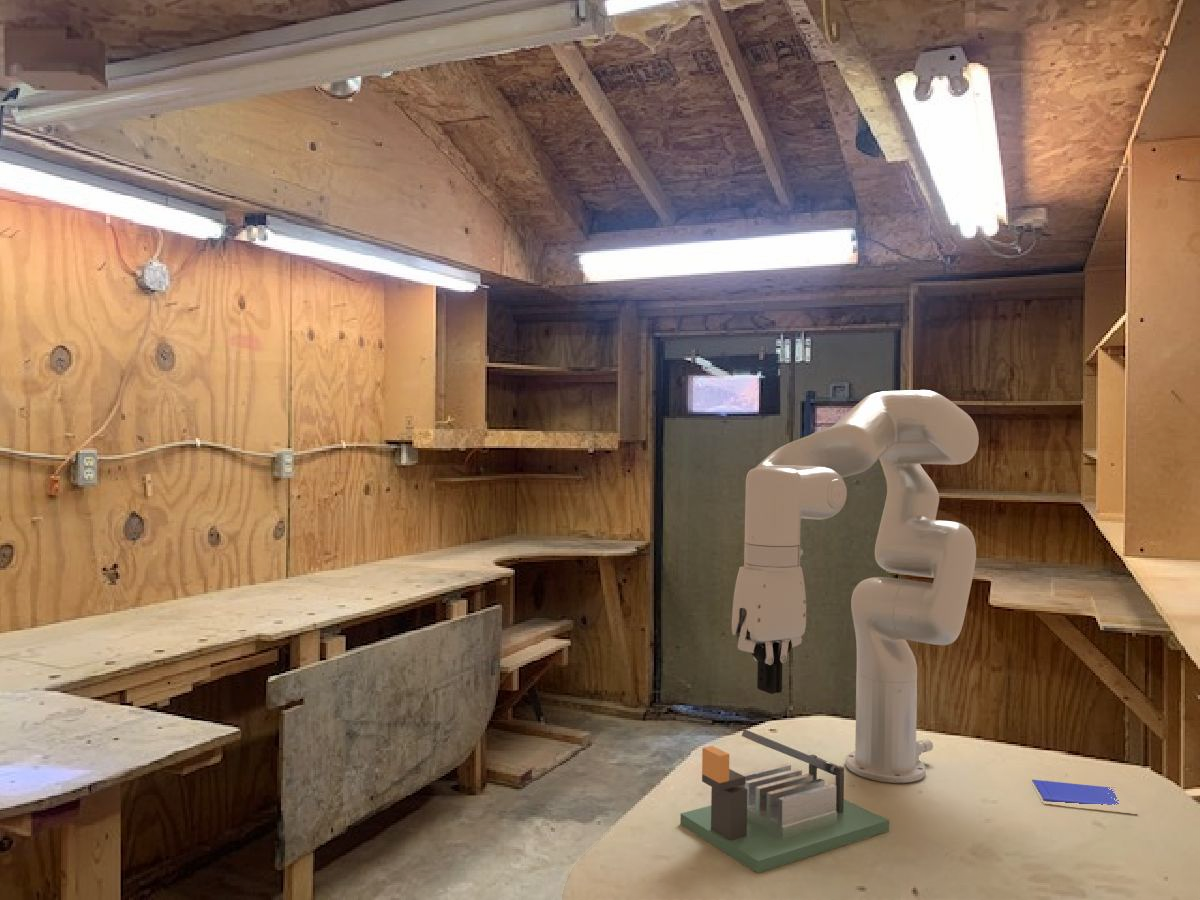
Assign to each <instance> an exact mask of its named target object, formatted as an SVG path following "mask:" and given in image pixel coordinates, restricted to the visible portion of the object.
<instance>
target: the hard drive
mask: <svg viewBox="0 0 1200 900" xmlns="http://www.w3.org/2000/svg"><path fill="white" fill-rule="evenodd" d="M1032 783H1033V784H1034V786H1035V788H1036V789H1037V790H1038V792H1039V794H1040V796H1041V798H1042V800H1043V801H1044V802H1045V801H1046V802H1065V803H1079V804H1101V805H1103V804H1107V805H1112V804H1114V805H1115V804H1116V803H1117V804H1119V803H1118V802H1117V801H1119V800H1117V801H1115V800H1116V799H1117V797H1116V795H1115V793H1113V792H1114V791H1115V790H1114V791H1112V790H1113V789H1111V790H1109V789H1110V787H1108V786H1102V785H1092V784H1091V785H1090V784H1080V783H1079V784H1078V783H1070V782H1062V781H1049V780H1040V779H1032V780H1031V784H1032ZM1108 788H1109V789H1108ZM1108 793H1109V794H1108ZM1111 797H1112V798H1111ZM1114 798H1115V800H1114ZM1117 804H1116V805H1117Z"/></svg>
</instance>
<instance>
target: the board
mask: <svg viewBox="0 0 1200 900" xmlns="http://www.w3.org/2000/svg"><path fill="white" fill-rule="evenodd" d="M809 755H810V756H812V757H815V758H817V757H818V756H817V755H816V754H809ZM817 772H818V768H817V767H815V766H814V765H811V764H809V763H808V773H809V774H812V775H813V780H817V779H818V778H817V777H818V773H817ZM844 784H845V767H843V766H841V765H837V767H836V775H835V785H836V811H837V823H834V824H831V825H828V826H824V827H821V828H818V829H814V830H811V831H808V832H804V833H801V834H798V835H794V836H791V837H788V838H784V839H782V838H780V837H779V836H777V835H775V834H773V833H771V832H770V831H768V830H766V829H764V828H763V827H761V826H759V825H757V824H755V823H754V822H752V821H750V820H748V819H747V789H746V788H744V787H742V786H737V787H733V788H729V789H725V790H721V791H719V790H717V789H715V788H713V787H711V803H710V804H711V805H708V806H704V807H701V808H697V809H693V810H692V809H691V810H688V811H685V812H684V811H683V812H680V818H679V819H680V822H679V823H680V825H681V826H683V827H684V828H686V829H687V830H688V831H691V832H692V833H694V834H696V836H698V837H700V838H702V839H703V840H704V841H706V842H708V843H710V845H712V846H714V847H716V848H718V850H721V852H724V853H725V854H727V855H728V856H730V857H731V858H733V859H735V860H736V861H737V862H739V863H741V864H742V865H744V866H746V867H747V868H749V869H750V870H752V871H753V872H755V873H757V874H759V873H762V872H765V871H769V870H772V869H775V868H778V867H782V866H785V865H788V864H790V863H795V862H796V861H801V860H803V859H807V858H809V857H813V856H816V855H819V854H821V853H825V852H828V851H831V850H834V849H838V848H840V847H844V846H846V845H849V844H852V843H855V842H856V843H857V842H858V841H859V842H860V841H862V840H864V839H865V840H866V839H868V838H873V837H874V836H877V835H881V834H884V833H886V832H887V833H888V832H889V831H890V820H889V818H886V817H884V816H881V815H880V814H877V813H875V812H873V811H870V810H868V809H866V808H864V807H862V806H860V805H858V804H857V803H854V802H853V801H852V802H851V801H850V800H847V799H845V798H844V797H845V790H844V789H845V785H844Z"/></svg>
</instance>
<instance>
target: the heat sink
mask: <svg viewBox="0 0 1200 900" xmlns="http://www.w3.org/2000/svg"><path fill="white" fill-rule="evenodd" d="M740 774H741V775H743V776H745V785H741V786H742V787H744V788H746V789H747V819H748V820H750V821H752V822H754V823H755V824H757V825H759V826H761V827H763V828H764V829H766V830H768V831H770V832H771V833H773V834H775V835H777V836H779V837H780V838H782V839H784V838H788V837H791V836H794V835H798V834H801V833H804V832H808V831H811V830H814V829H818V828H821V827H824V826H828V825H831V824H834V823H837V811H836V784H833V783H830V784H827V785H825V783H826V780H825V779H822V778H817V780H813V775H812V774H809V772H808V773H804V774H803V770H802V769H801V768H794V769H793V768H792V765H791V764H789V763H783V764H779V765H775V766H771V767H767V768H763V769H758V770H754V771H750V772H746V773H740Z"/></svg>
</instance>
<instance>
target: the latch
mask: <svg viewBox="0 0 1200 900" xmlns="http://www.w3.org/2000/svg"><path fill="white" fill-rule="evenodd" d="M701 752H702V756H701V757H702V759H701V760H702V761H701V763H702V765H701V767H702V768H701V782H702V783H704V784H706V786H709V787H711V788H712V787H713V788H715V789H717V790H719V791H721V790H725V789H729V788H733V787H737V786H741V785H745V776H743V775H741V774H742V773H739V772H737V771H735V770H732V769H730V753H728V752H726V751H724V750H722V749H719V748H717V747H716V746H713V745H709V746H705V747H702V751H701Z"/></svg>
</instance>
